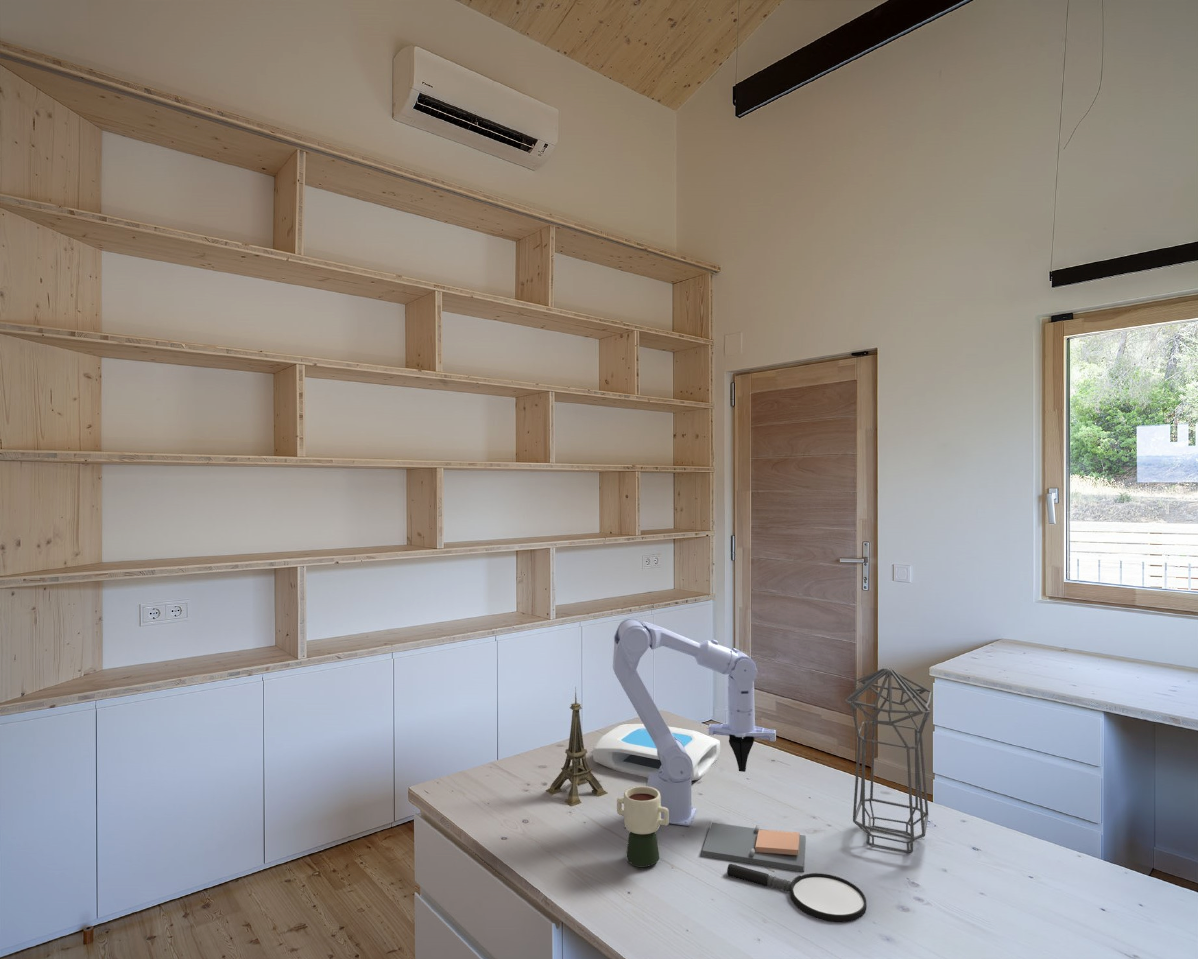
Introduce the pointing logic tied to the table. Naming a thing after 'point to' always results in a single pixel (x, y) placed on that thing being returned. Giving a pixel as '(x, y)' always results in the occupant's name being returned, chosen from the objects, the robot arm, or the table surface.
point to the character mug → (642, 823)
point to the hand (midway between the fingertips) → (742, 769)
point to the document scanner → (653, 749)
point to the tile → (778, 842)
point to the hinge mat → (748, 847)
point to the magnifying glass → (813, 893)
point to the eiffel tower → (576, 764)
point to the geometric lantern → (854, 704)
